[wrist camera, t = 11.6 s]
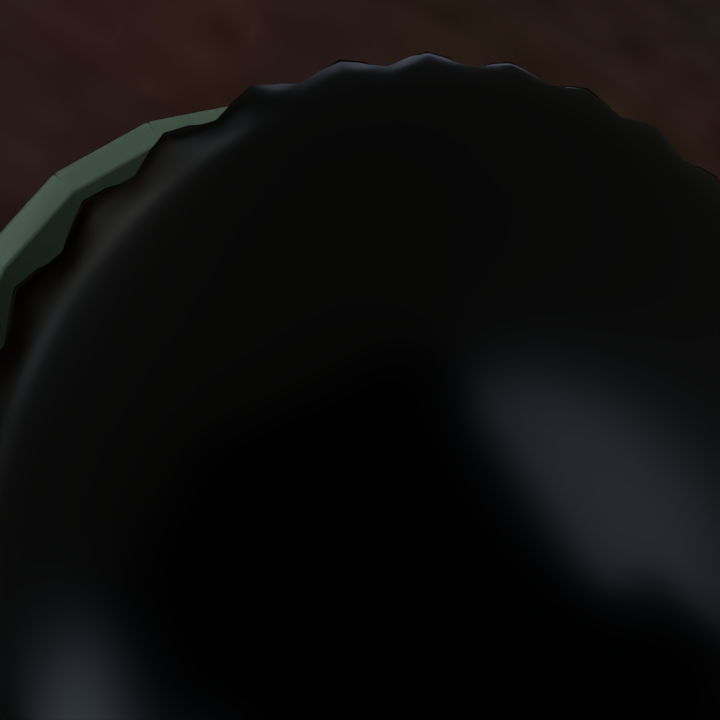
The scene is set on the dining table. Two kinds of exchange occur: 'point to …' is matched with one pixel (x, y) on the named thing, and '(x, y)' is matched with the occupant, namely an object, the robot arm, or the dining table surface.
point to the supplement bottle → (372, 417)
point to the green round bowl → (73, 202)
